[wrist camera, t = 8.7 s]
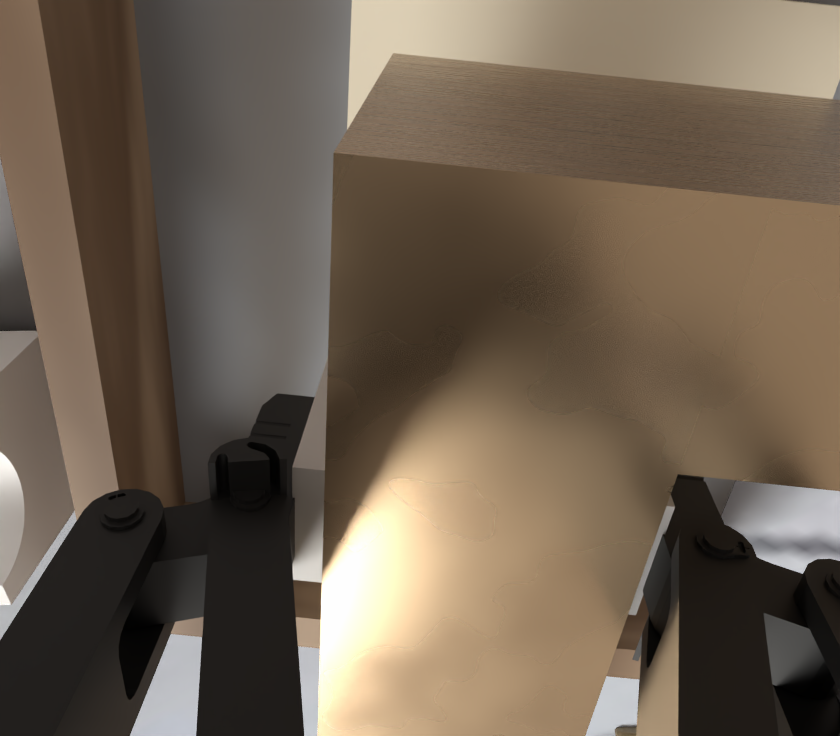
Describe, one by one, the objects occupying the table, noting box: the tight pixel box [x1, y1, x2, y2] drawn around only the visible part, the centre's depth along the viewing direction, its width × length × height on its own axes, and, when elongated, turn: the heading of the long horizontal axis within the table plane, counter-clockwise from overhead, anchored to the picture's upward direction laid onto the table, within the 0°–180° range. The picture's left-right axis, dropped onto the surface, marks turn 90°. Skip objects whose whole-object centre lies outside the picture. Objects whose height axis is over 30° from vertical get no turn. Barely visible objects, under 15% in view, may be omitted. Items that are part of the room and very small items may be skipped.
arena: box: [0, 0, 840, 679], centre depth 23 cm, size 24×24×6 cm
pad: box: [347, 0, 840, 129], centre depth 24 cm, size 14×17×1 cm
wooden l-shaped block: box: [318, 53, 840, 736], centre depth 15 cm, size 14×11×8 cm
